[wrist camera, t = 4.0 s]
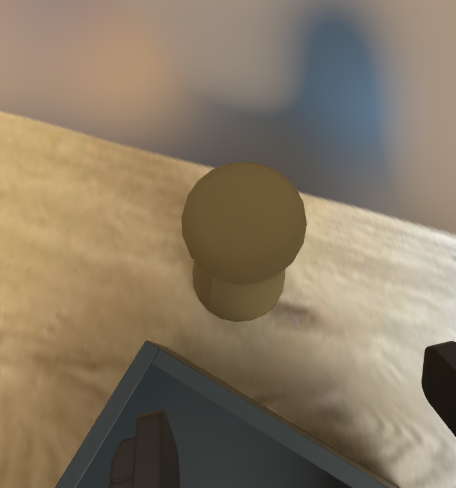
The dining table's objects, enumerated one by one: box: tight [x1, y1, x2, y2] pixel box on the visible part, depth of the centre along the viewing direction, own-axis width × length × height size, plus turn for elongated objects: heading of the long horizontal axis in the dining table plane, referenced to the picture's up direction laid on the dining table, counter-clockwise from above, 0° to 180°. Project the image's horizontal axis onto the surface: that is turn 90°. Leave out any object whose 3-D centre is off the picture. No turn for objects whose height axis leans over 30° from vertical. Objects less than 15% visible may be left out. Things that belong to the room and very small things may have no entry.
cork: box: [182, 162, 307, 322], centre depth 19 cm, size 6×6×11 cm
